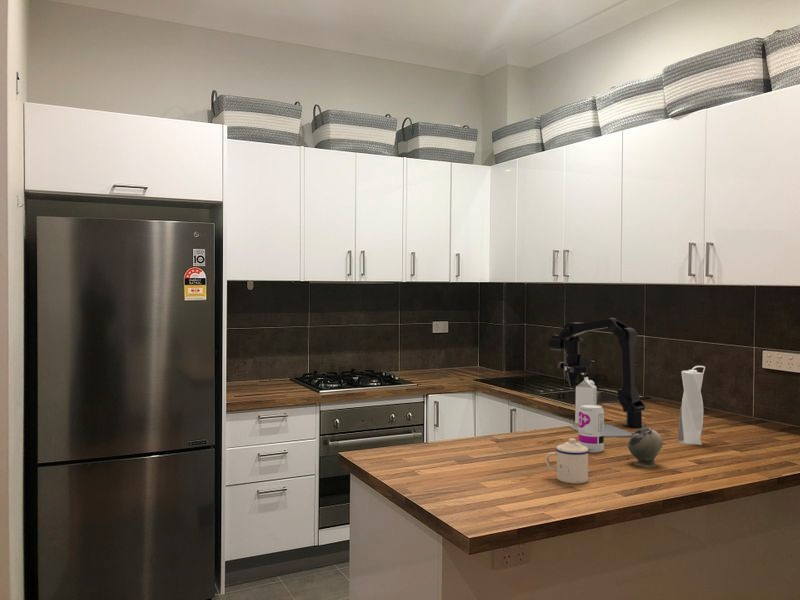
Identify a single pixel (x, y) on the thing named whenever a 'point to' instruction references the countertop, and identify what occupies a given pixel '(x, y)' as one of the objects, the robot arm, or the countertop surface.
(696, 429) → the white tall faceted vessel
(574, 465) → the teacup with lid
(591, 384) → the milk carton
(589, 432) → the supplement can
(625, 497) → the countertop surface
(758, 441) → the countertop surface
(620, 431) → the mat
